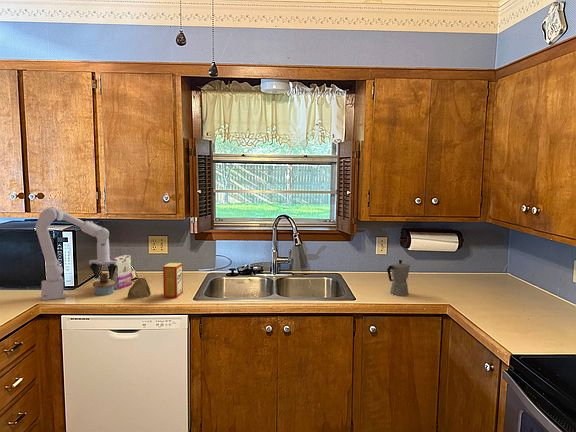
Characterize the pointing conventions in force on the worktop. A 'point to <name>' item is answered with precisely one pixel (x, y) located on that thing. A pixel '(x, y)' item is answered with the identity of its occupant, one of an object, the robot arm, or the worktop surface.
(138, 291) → the rock
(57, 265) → the robot arm
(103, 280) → the walnut lid
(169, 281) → the baking soda box
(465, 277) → the worktop surface
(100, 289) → the slate bowl
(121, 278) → the candy bar box
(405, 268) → the coffeepot
